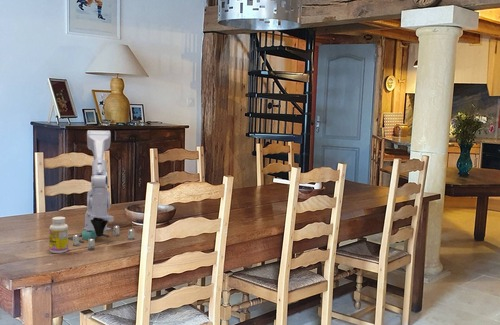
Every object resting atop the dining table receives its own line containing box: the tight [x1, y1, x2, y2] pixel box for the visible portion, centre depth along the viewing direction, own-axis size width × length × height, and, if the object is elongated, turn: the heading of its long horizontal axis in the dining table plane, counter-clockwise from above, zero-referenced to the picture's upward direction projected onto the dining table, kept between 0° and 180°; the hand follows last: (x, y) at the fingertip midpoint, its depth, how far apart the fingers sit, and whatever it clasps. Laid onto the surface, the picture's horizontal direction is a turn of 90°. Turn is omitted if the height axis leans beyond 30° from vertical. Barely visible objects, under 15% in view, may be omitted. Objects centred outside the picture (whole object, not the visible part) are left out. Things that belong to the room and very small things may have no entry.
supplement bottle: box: [48, 216, 69, 254], centre depth 201 cm, size 7×7×13 cm
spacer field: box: [72, 224, 135, 251], centre depth 217 cm, size 11×23×4 cm, turn 147°
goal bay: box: [68, 233, 110, 244], centre depth 222 cm, size 9×14×1 cm
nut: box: [81, 229, 97, 241], centre depth 222 cm, size 6×6×3 cm
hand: (99, 236), depth 218 cm, fingers closed
